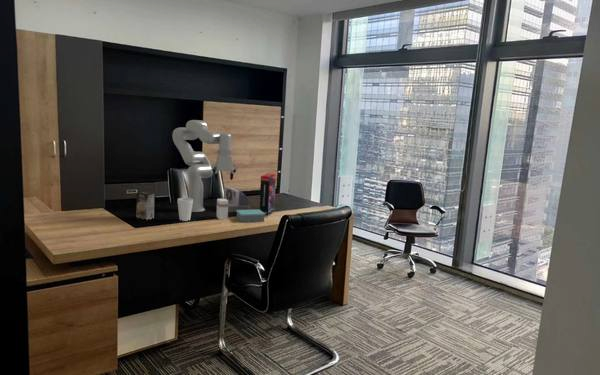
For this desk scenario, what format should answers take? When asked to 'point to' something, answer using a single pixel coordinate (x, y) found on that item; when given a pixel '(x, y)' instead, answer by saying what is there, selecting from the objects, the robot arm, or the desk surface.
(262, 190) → the graphics card box
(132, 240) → the desk surface
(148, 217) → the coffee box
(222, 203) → the carton
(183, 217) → the foam cup
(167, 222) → the desk surface
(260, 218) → the podium
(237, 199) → the instant camera
